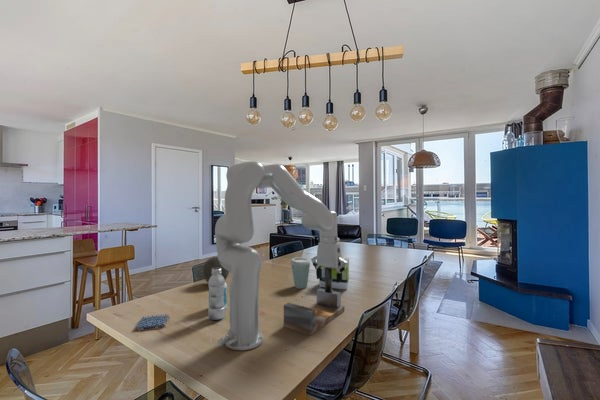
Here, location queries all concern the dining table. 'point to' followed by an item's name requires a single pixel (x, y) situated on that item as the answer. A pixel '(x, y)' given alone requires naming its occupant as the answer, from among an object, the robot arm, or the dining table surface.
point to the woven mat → (152, 322)
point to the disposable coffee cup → (300, 271)
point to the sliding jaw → (328, 292)
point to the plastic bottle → (216, 295)
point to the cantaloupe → (213, 264)
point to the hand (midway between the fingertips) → (329, 280)
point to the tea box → (340, 285)
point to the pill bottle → (224, 296)
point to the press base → (318, 318)
